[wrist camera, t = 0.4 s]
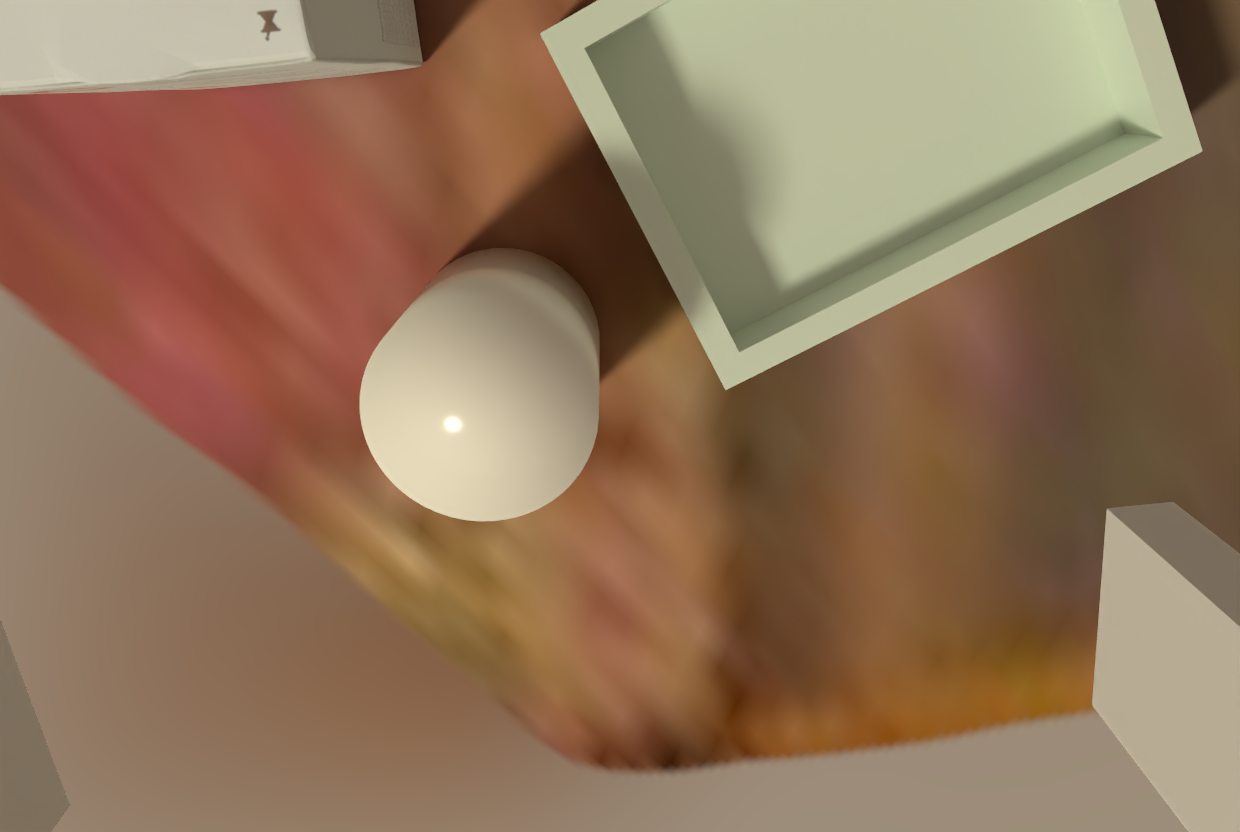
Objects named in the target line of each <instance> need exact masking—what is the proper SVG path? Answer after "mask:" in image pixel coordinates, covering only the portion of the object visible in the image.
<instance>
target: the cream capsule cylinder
mask: <svg viewBox="0 0 1240 832" xmlns="http://www.w3.org/2000/svg"><path fill="white" fill-rule="evenodd" d="M599 372H600V333H599V327H598V321H597V318H596V315H595V312H594V309H593V307H592V304H591V302H590V300H589V298H588V297H587V295H586V293H585V292H584V290H583V289H582V287H581V286H580V285H579V284H578V283H577V281H576V280H575V279H574V278H573V277H572V276H571V275H570V274H569V273H568V272H567V271H565V270H564V269H563V268H561V267H560V266H559V265H557V264H556V263H554V262H553V261H551V260H549V259H547V258H545V257H543V256H541V255H538V254H535V253H533V252H530V251H525V250H521V249H514V248H490V249H484V250H479V251H475V252H472V253H469V254H466V255H464V256H462V257H460V258H458V259H456V260H454V261H453V262H451V263H450V264H448V265H446V266H445V267H444V268H443V269H442V270H441V271H439V272H438V273H437V274H436V275H435V276H434V277H433V279H432V280H431V281H430V282H429V283H428V284H427V286H426V287H425V288H424V289H423V290H422V292H421V293H420V294H419V295H418V296H417V298H416V299H415V300H414V301H413V302H412V304H411V305H410V306H409V307H408V308H407V310H406V311H405V312H404V313H403V315H402V316H401V317H400V318H399V319H398V321H397V322H396V323H395V324H394V325H393V327H392V328H391V329H390V330H389V331H388V333H387V334H386V335H385V336H384V337H383V339H382V340H381V341H380V343H379V344H378V346H377V347H376V349H375V350H374V352H373V354H372V356H371V358H370V360H369V362H368V364H367V366H366V370H365V373H364V376H363V379H362V385H361V391H360V416H361V424H362V428H363V432H364V436H365V439H366V442H367V444H368V446H369V449H370V451H371V453H372V455H373V457H374V459H375V460H376V462H377V464H378V466H379V467H380V468H381V469H382V471H383V472H384V473H385V475H386V476H387V477H388V478H389V479H390V480H391V482H392V483H393V484H394V485H395V486H396V487H397V488H398V489H400V490H401V491H402V492H403V493H405V494H406V495H407V496H408V497H410V498H411V499H413V500H414V501H416V502H418V503H419V504H421V505H422V506H424V507H427V508H429V509H431V510H433V511H435V512H437V513H440V514H444V515H447V516H450V517H453V518H458V519H463V520H471V521H498V520H505V519H511V518H514V517H518V516H522V515H525V514H527V513H530V512H532V511H535V510H537V509H539V508H541V507H543V506H544V505H546V504H548V503H549V502H551V501H552V500H554V499H555V498H556V497H558V496H559V495H560V494H562V493H563V492H564V491H565V490H566V489H567V488H568V487H569V486H570V485H571V484H572V483H573V482H574V480H575V479H576V478H577V476H578V475H579V474H580V472H581V471H582V469H583V468H584V466H585V464H586V462H587V460H588V459H589V456H590V454H591V451H592V449H593V446H594V443H595V438H596V434H597V429H598V419H599Z"/></svg>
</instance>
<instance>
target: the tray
mask: <svg viewBox="0 0 1240 832" xmlns="http://www.w3.org/2000/svg"><path fill="white" fill-rule="evenodd" d="M540 35H541V37H542V39H543V41H544V43H545V44H546V46H547V48H548V50H549V52H550V54H551V56H552V58H553V60H554V62H555V64H556V66H557V67H558V69H559V71H560V73H561V75H562V77H563V79H564V81H565V83H566V85H567V87H568V89H569V91H570V92H571V94H572V96H573V98H574V100H575V102H576V104H577V106H578V108H579V110H580V112H581V114H582V115H583V117H584V119H585V121H586V123H587V125H588V127H589V129H590V131H591V133H592V135H593V137H594V139H595V140H596V142H597V144H598V146H599V148H600V150H601V152H602V154H603V156H604V158H605V160H606V162H607V163H608V165H609V167H610V169H611V171H612V173H613V175H614V177H615V179H616V181H617V183H618V185H619V186H620V188H621V190H622V192H623V194H624V196H625V198H626V200H627V202H628V204H629V206H630V208H631V210H632V211H633V213H634V215H635V217H636V219H637V221H638V223H639V225H640V227H641V229H642V231H643V233H644V234H645V236H646V238H647V240H648V242H649V244H650V246H651V248H652V250H653V252H654V254H655V256H656V257H657V259H658V261H659V263H660V265H661V267H662V269H663V271H664V273H665V275H666V277H667V279H668V281H669V282H670V284H671V286H672V288H673V290H674V292H675V294H676V296H677V298H678V300H679V302H680V304H681V305H682V307H683V309H684V311H685V313H686V315H687V317H688V319H689V321H690V323H691V325H692V327H693V328H694V330H695V332H696V334H697V336H698V338H699V340H700V342H701V344H702V346H703V348H704V350H705V352H706V353H707V355H708V357H709V359H710V361H711V363H712V365H713V367H714V369H715V371H716V373H717V375H718V376H719V378H720V380H721V382H722V384H723V386H724V388H725V390H727V389H729V388H731V387H733V386H735V385H737V384H739V383H741V382H743V381H745V380H747V379H749V378H751V377H753V376H755V375H757V374H759V373H761V372H763V371H765V370H767V369H769V368H771V367H773V366H775V365H777V364H779V363H781V362H783V361H785V360H787V359H789V358H791V357H793V356H795V355H797V354H799V353H801V352H803V351H805V350H807V349H809V348H811V347H813V346H815V345H817V344H819V343H821V342H823V341H825V340H827V339H829V338H831V337H833V336H835V335H837V334H839V333H841V332H843V331H845V330H847V329H849V328H851V327H853V326H855V325H857V324H859V323H861V322H863V321H865V320H867V319H869V318H871V317H873V316H875V315H877V314H879V313H881V312H883V311H885V310H887V309H889V308H891V307H893V306H895V305H897V304H899V303H901V302H903V301H905V300H907V299H909V298H911V297H913V296H915V295H917V294H919V293H921V292H923V291H925V290H927V289H929V288H931V287H933V286H935V285H937V284H939V283H941V282H943V281H945V280H947V279H949V278H951V277H953V276H955V275H957V274H959V273H961V272H963V271H965V270H967V269H969V268H971V267H973V266H975V265H977V264H979V263H980V262H982V261H984V260H986V259H988V258H990V257H992V256H994V255H996V254H998V253H1000V252H1002V251H1004V250H1006V249H1008V248H1010V247H1012V246H1014V245H1016V244H1018V243H1020V242H1022V241H1024V240H1026V239H1028V238H1030V237H1032V236H1034V235H1036V234H1038V233H1040V232H1042V231H1044V230H1046V229H1048V228H1050V227H1052V226H1054V225H1056V224H1058V223H1060V222H1062V221H1064V220H1066V219H1068V218H1070V217H1072V216H1074V215H1076V214H1078V213H1080V212H1082V211H1084V210H1086V209H1088V208H1090V207H1092V206H1094V205H1096V204H1098V203H1100V202H1102V201H1104V200H1106V199H1108V198H1110V197H1112V196H1114V195H1116V194H1118V193H1120V192H1122V191H1124V190H1126V189H1128V188H1130V187H1132V186H1134V185H1136V184H1138V183H1140V182H1142V181H1144V180H1146V179H1148V178H1150V177H1152V176H1154V175H1156V174H1158V173H1160V172H1162V171H1164V170H1166V169H1168V168H1170V167H1172V166H1174V165H1176V164H1178V163H1180V162H1182V161H1184V160H1186V159H1188V158H1190V157H1192V156H1194V155H1196V154H1198V153H1200V152H1202V148H1201V145H1200V142H1199V138H1198V135H1197V132H1196V129H1195V126H1194V123H1193V120H1192V116H1191V113H1190V110H1189V107H1188V104H1187V101H1186V97H1185V94H1184V91H1183V88H1182V85H1181V82H1180V79H1179V75H1178V72H1177V69H1176V66H1175V63H1174V60H1173V56H1172V53H1171V50H1170V47H1169V44H1168V41H1167V38H1166V34H1165V31H1164V28H1163V25H1162V22H1161V19H1160V16H1159V12H1158V9H1157V6H1156V3H1155V0H597V1H595V2H594V3H592V4H590V5H589V6H587V7H585V8H583V9H582V10H580V11H578V12H576V13H575V14H573V15H571V16H569V17H568V18H566V19H564V20H563V21H561V22H559V23H557V24H556V25H554V26H552V27H550V28H549V29H547V30H545V31H544V32H542V33H540Z"/></svg>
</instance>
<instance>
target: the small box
mask: <svg viewBox="0 0 1240 832" xmlns="http://www.w3.org/2000/svg"><path fill="white" fill-rule="evenodd" d="M422 64H423V60H422V54H421V48H420V40H419V34H418V28H417V21H416V14H415V6H414V1H413V0H0V95H14V94H45V93H81V92H120V91H139V90H190V89H210V88H224V87H235V86H246V85H257V84H268V83H279V82H289V81H299V80H309V79H319V78H329V77H339V76H349V75H357V74H366V73H375V72H384V71H393V70H401V69H408V68H415V67H420V66H422Z"/></svg>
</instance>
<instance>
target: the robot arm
mask: <svg viewBox="0 0 1240 832" xmlns="http://www.w3.org/2000/svg"><path fill="white" fill-rule="evenodd" d="M1092 706H1093V707H1094V708H1095V710H1096V711H1097V712H1098V714H1099V715H1100V716H1101V717H1102V719H1103V720H1104V721H1105V723H1106V724H1107V725H1108V727H1109V728H1110V729H1111V731H1112V732H1113V733H1114V735H1115V736H1116V737H1117V739H1118V740H1119V741H1120V742H1121V744H1122V745H1123V746H1124V748H1125V749H1126V750H1127V752H1128V753H1129V754H1130V756H1131V757H1132V758H1133V760H1134V761H1135V762H1136V764H1137V765H1138V766H1139V767H1140V769H1141V770H1142V771H1143V772H1144V774H1145V775H1146V776H1147V778H1148V779H1149V781H1150V782H1151V783H1152V785H1153V786H1154V787H1155V789H1156V790H1157V791H1158V792H1159V794H1160V795H1161V796H1162V798H1163V799H1164V800H1165V802H1166V803H1167V804H1168V806H1169V807H1170V808H1171V810H1172V811H1173V812H1174V814H1175V815H1176V816H1177V817H1178V819H1179V820H1180V821H1181V823H1182V824H1183V825H1184V827H1185V828H1186V829H1187V831H1188V832H1240V554H1239V553H1238V552H1237V551H1236V550H1234V549H1233V548H1232V547H1230V546H1229V545H1228V544H1227V543H1225V542H1224V541H1223V540H1221V539H1220V538H1219V537H1218V536H1216V535H1215V534H1214V533H1212V532H1211V531H1210V530H1208V529H1207V528H1206V527H1205V526H1203V525H1202V524H1201V523H1199V522H1198V521H1197V520H1196V519H1194V518H1193V517H1192V516H1190V515H1189V514H1188V513H1187V512H1185V511H1184V510H1183V509H1181V508H1180V507H1179V506H1178V505H1176V504H1175V503H1174V502H1167V503H1157V504H1147V505H1138V506H1128V507H1118V508H1108V509H1107V514H1106V528H1105V541H1104V554H1103V567H1102V581H1101V594H1100V607H1099V621H1098V634H1097V647H1096V661H1095V674H1094V687H1093V700H1092ZM69 805H70V804H69V802H68V799H67V796H66V794H65V791H64V788H63V786H62V783H61V781H60V778H59V775H58V773H57V770H56V767H55V764H54V762H53V759H52V756H51V754H50V751H49V748H48V745H47V743H46V740H45V738H44V735H43V732H42V730H41V727H40V724H39V722H38V719H37V716H36V713H35V711H34V708H33V706H32V703H31V700H30V697H29V695H28V692H27V689H26V687H25V684H24V681H23V679H22V676H21V673H20V671H19V668H18V665H17V662H16V660H15V657H14V655H13V652H12V649H11V646H10V644H9V641H8V639H7V636H6V633H5V630H4V628H3V625H2V622H1V621H0V832H51V831H52V830H53V828H54V827H55V825H56V824H57V822H58V821H59V820H60V818H61V817H62V816H63V814H64V813H65V811H66V810H67V808H68V807H69Z"/></svg>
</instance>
